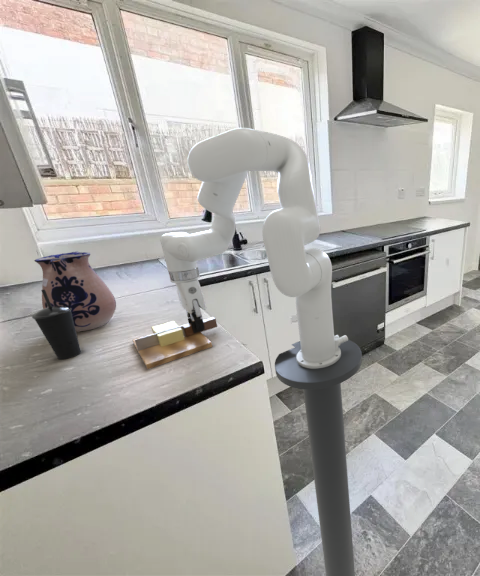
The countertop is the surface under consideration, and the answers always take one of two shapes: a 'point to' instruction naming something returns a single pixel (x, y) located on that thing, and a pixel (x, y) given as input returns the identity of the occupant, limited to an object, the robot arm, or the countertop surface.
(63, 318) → the drinking cup
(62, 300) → the ceramic pitcher
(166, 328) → the butter block
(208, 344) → the board
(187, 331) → the knife
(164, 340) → the butter slice
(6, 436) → the countertop surface
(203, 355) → the countertop surface
